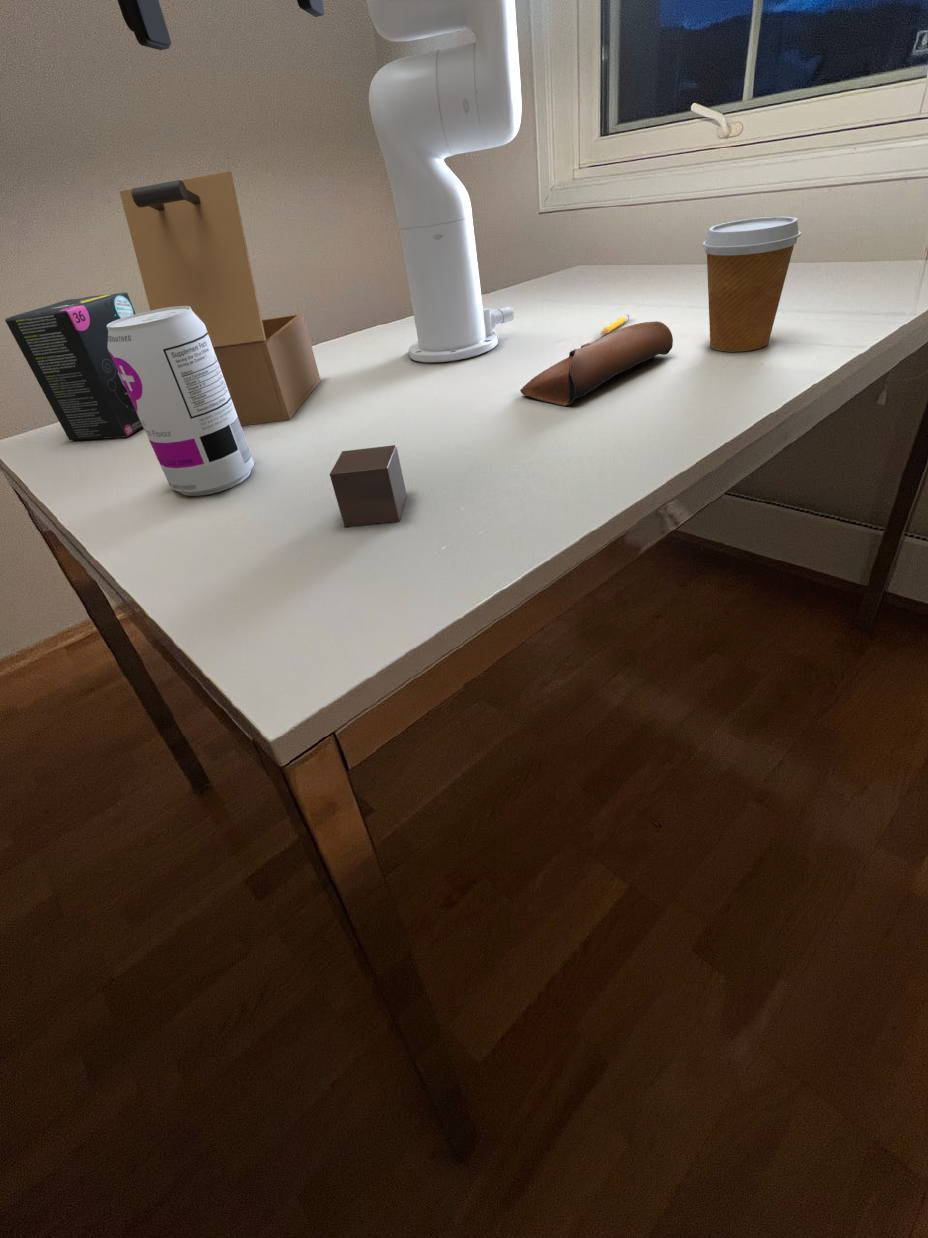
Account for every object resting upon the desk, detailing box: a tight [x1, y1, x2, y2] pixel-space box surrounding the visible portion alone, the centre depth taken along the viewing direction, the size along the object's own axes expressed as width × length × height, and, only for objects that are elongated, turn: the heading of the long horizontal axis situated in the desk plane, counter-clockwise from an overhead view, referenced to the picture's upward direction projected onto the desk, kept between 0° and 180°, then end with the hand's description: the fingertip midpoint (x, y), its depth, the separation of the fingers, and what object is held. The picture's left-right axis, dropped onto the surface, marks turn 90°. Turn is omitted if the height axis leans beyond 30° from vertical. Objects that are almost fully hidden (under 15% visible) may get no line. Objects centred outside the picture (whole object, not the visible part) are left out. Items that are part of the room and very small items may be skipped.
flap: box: [119, 170, 266, 348], centre depth 65 cm, size 16×12×5 cm
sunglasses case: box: [519, 321, 674, 407], centre depth 70 cm, size 18×7×7 cm, turn 134°
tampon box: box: [4, 292, 143, 441], centre depth 79 cm, size 11×9×15 cm
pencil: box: [599, 314, 630, 335], centre depth 86 cm, size 1×9×1 cm, turn 144°
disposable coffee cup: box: [702, 216, 802, 353], centre depth 70 cm, size 10×10×12 cm
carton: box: [213, 313, 322, 427], centre depth 79 cm, size 15×12×9 cm
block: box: [329, 444, 408, 528], centre depth 50 cm, size 4×4×4 cm
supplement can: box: [107, 306, 255, 497], centre depth 58 cm, size 8×8×15 cm
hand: (233, 29), depth 36 cm, fingers open, 9 cm apart
